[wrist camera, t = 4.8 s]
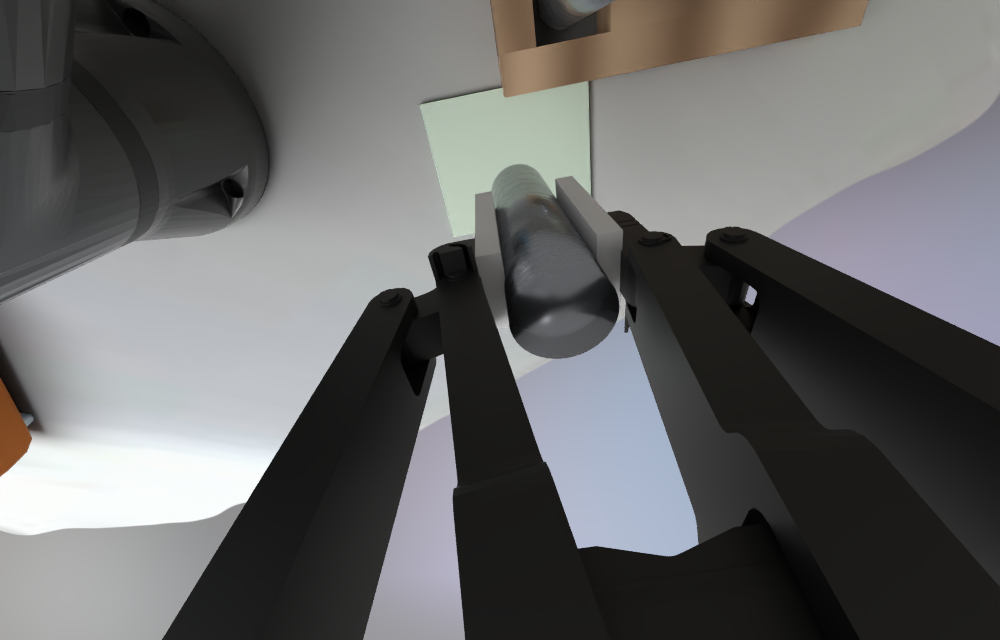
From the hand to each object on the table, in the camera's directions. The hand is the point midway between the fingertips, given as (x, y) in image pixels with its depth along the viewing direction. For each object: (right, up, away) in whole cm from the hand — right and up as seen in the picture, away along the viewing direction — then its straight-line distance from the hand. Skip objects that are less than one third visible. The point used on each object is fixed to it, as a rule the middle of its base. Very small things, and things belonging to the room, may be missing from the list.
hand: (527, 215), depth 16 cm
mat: (0, +8, +12) cm, 14 cm away
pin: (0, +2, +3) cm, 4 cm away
